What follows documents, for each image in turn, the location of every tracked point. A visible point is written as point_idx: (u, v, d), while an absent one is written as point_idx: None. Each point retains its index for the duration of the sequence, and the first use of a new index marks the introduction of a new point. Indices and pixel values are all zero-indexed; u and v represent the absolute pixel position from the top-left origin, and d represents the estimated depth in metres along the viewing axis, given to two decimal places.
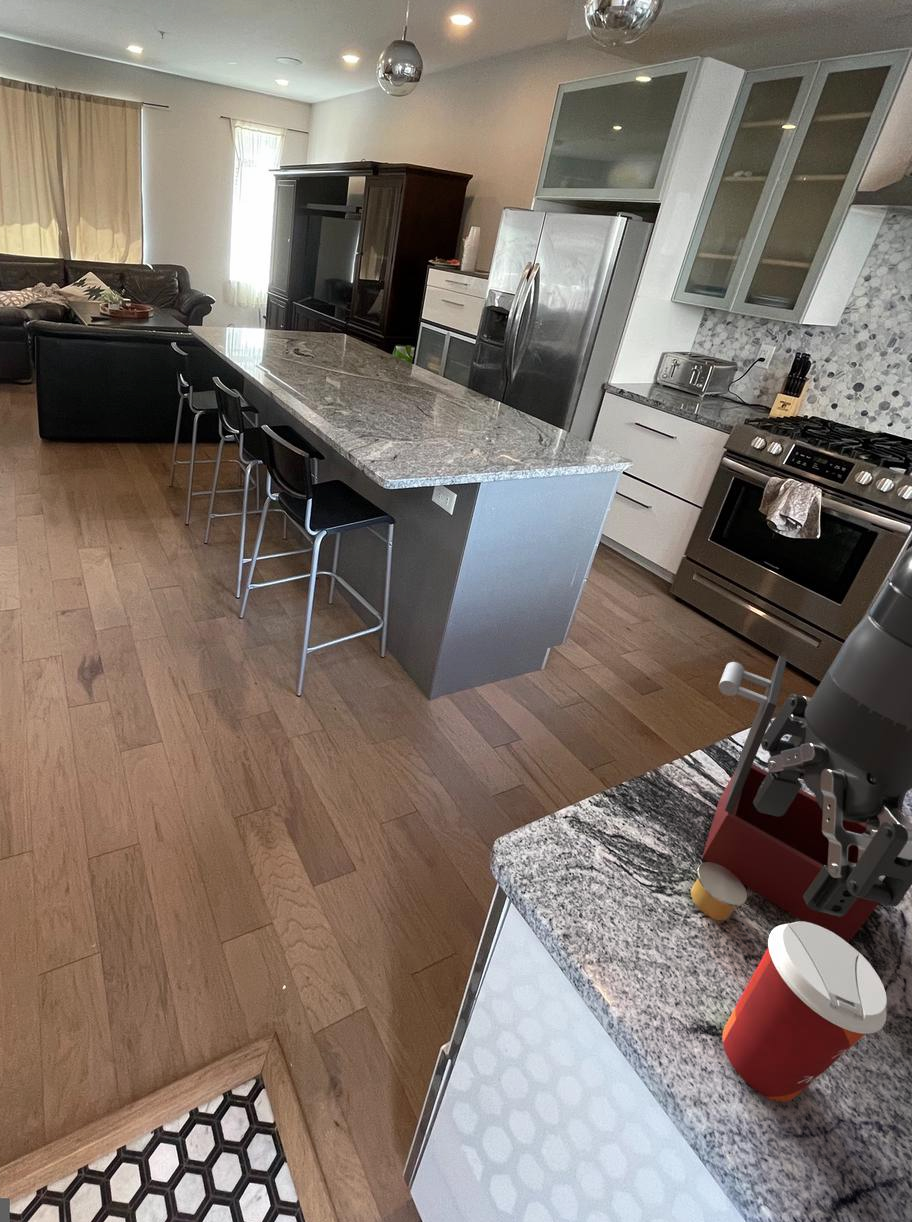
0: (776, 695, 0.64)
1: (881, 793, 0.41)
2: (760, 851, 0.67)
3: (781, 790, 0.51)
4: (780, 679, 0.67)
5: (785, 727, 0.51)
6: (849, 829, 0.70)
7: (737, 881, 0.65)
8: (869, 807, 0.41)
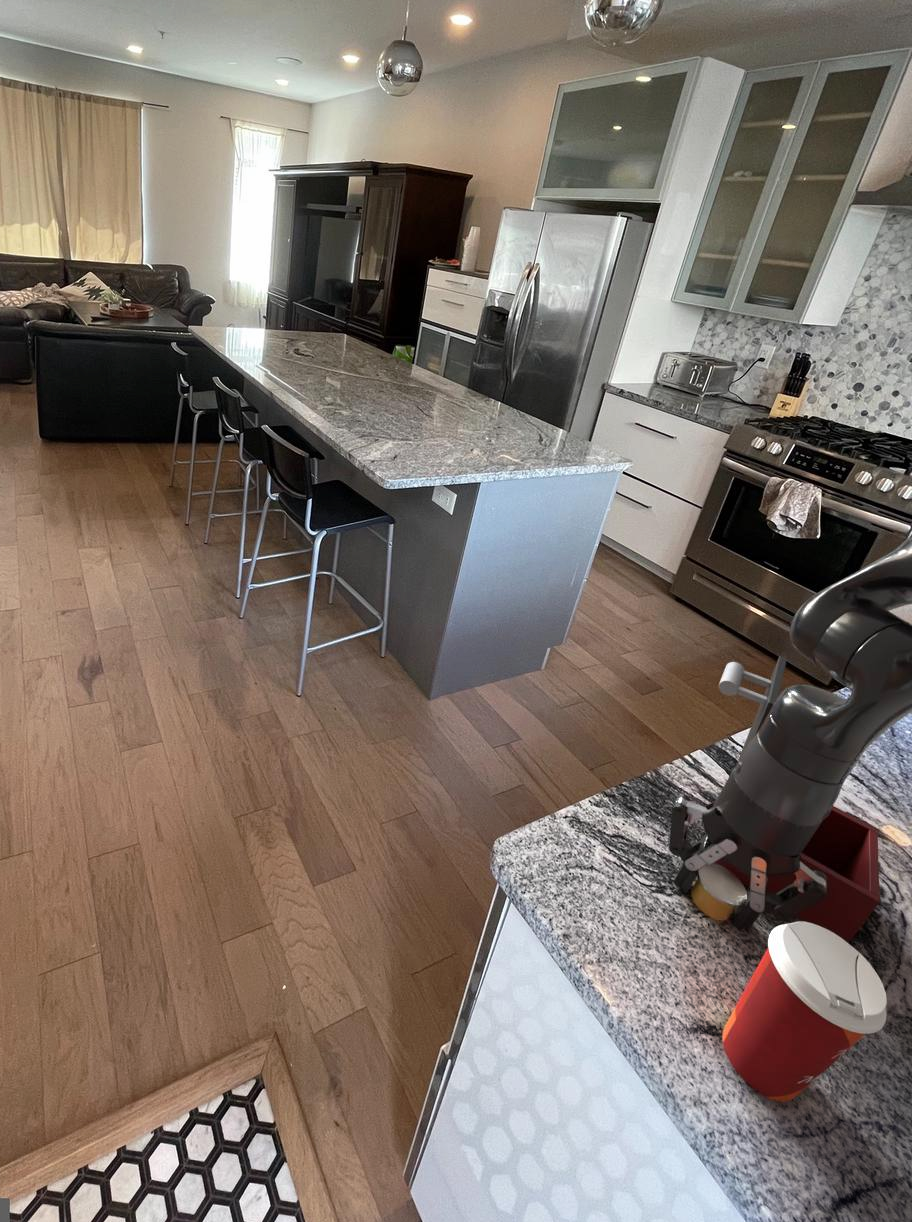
0: (776, 695, 0.64)
1: (798, 858, 0.59)
2: None
3: None
4: (780, 679, 0.67)
5: (683, 831, 0.65)
6: (849, 829, 0.70)
7: (738, 881, 0.65)
8: (795, 870, 0.59)
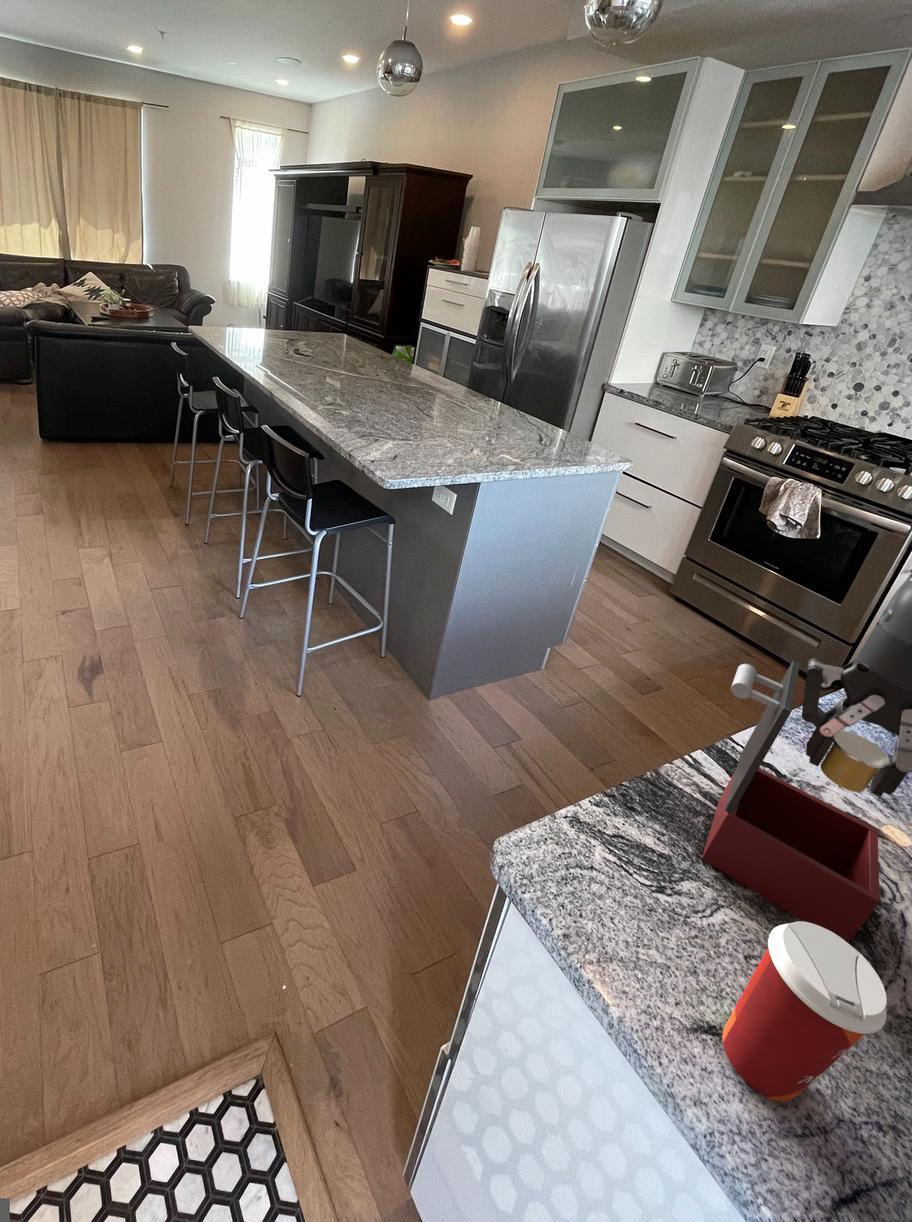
0: (791, 701, 0.63)
1: None
2: (760, 851, 0.67)
3: None
4: (794, 685, 0.66)
5: (819, 695, 0.62)
6: (849, 829, 0.70)
7: (876, 747, 0.62)
8: None
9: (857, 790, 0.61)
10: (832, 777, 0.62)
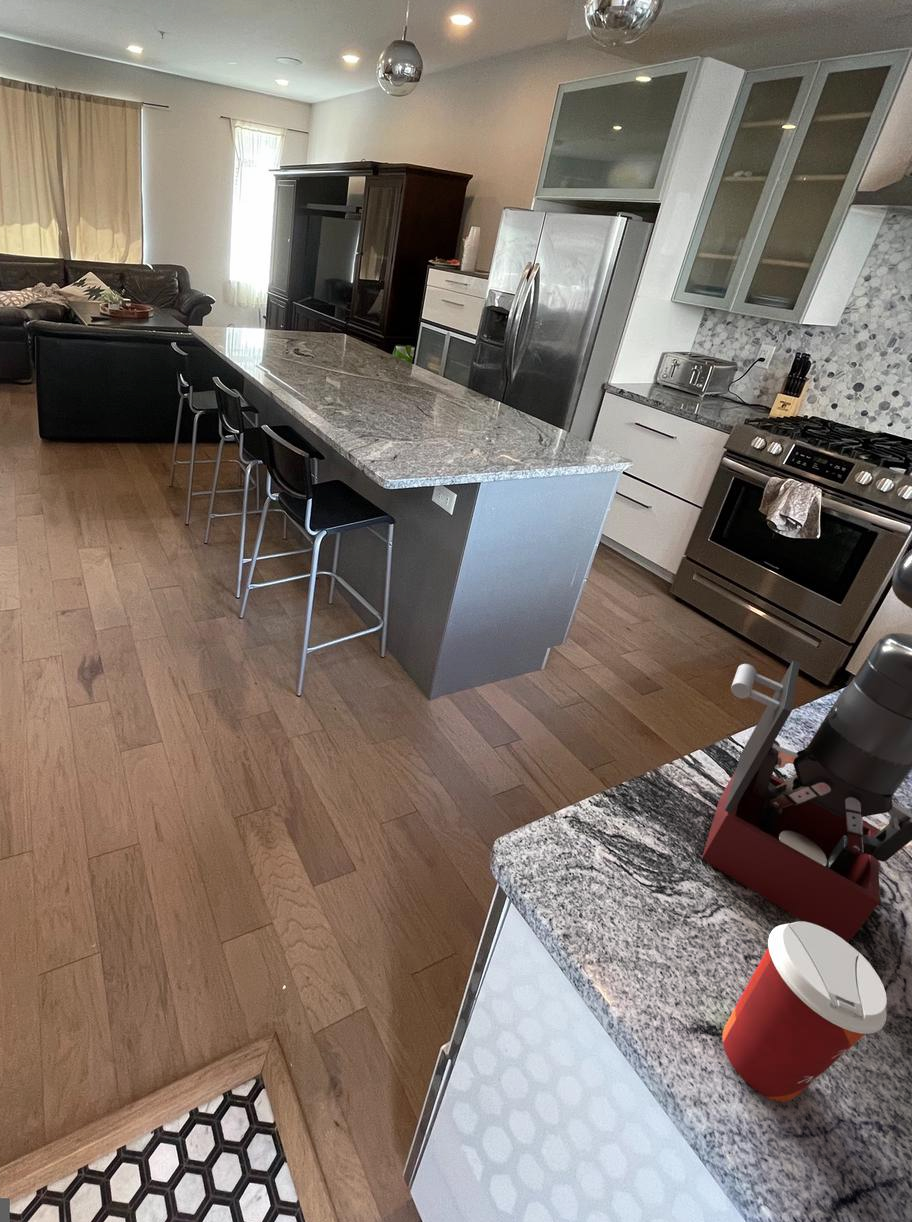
0: (791, 701, 0.63)
1: None
2: (760, 851, 0.67)
3: None
4: (794, 685, 0.66)
5: (772, 773, 0.69)
6: None
7: (816, 847, 0.70)
8: (888, 810, 0.63)
9: None
10: None
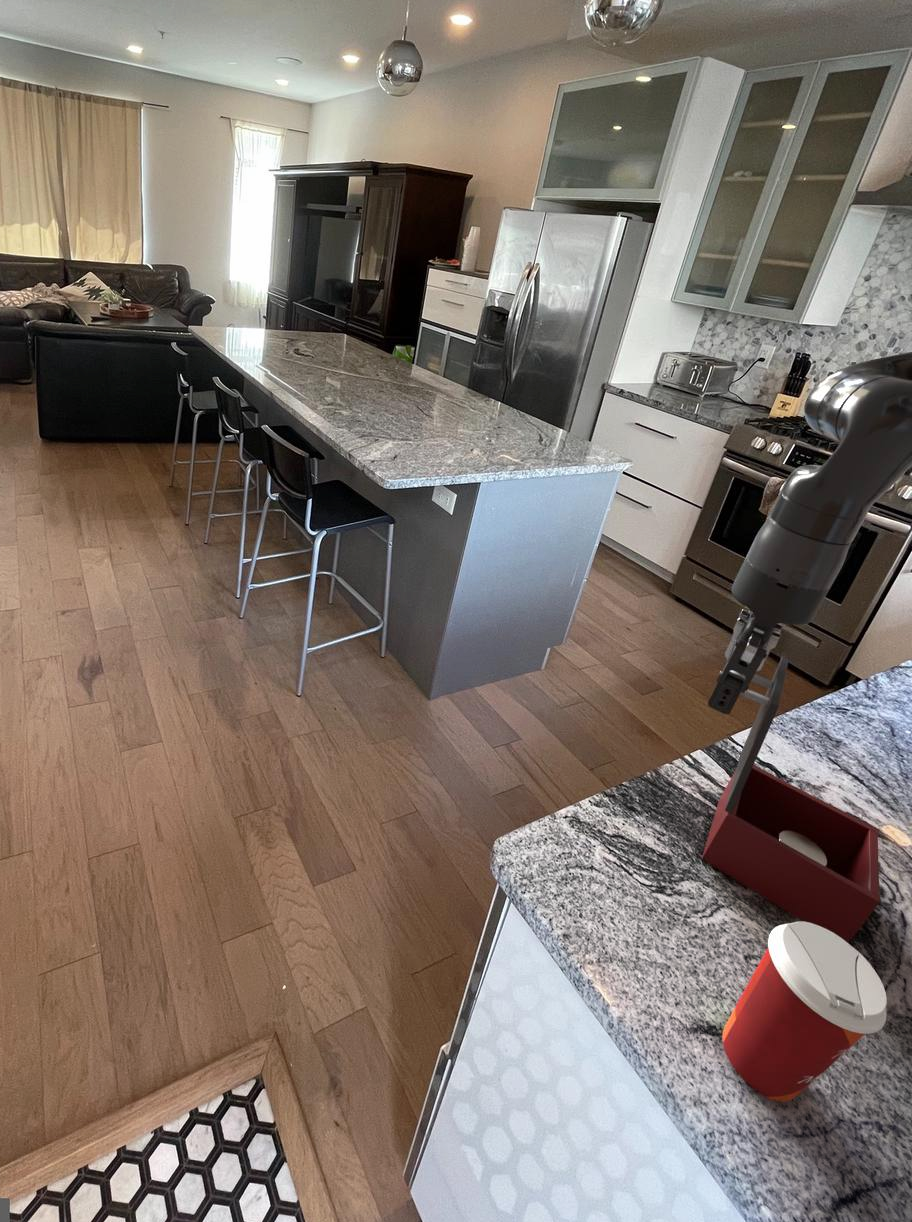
0: (779, 696, 0.64)
1: None
2: (760, 851, 0.67)
3: None
4: (782, 680, 0.67)
5: None
6: (849, 829, 0.70)
7: (816, 847, 0.70)
8: None
9: None
10: None
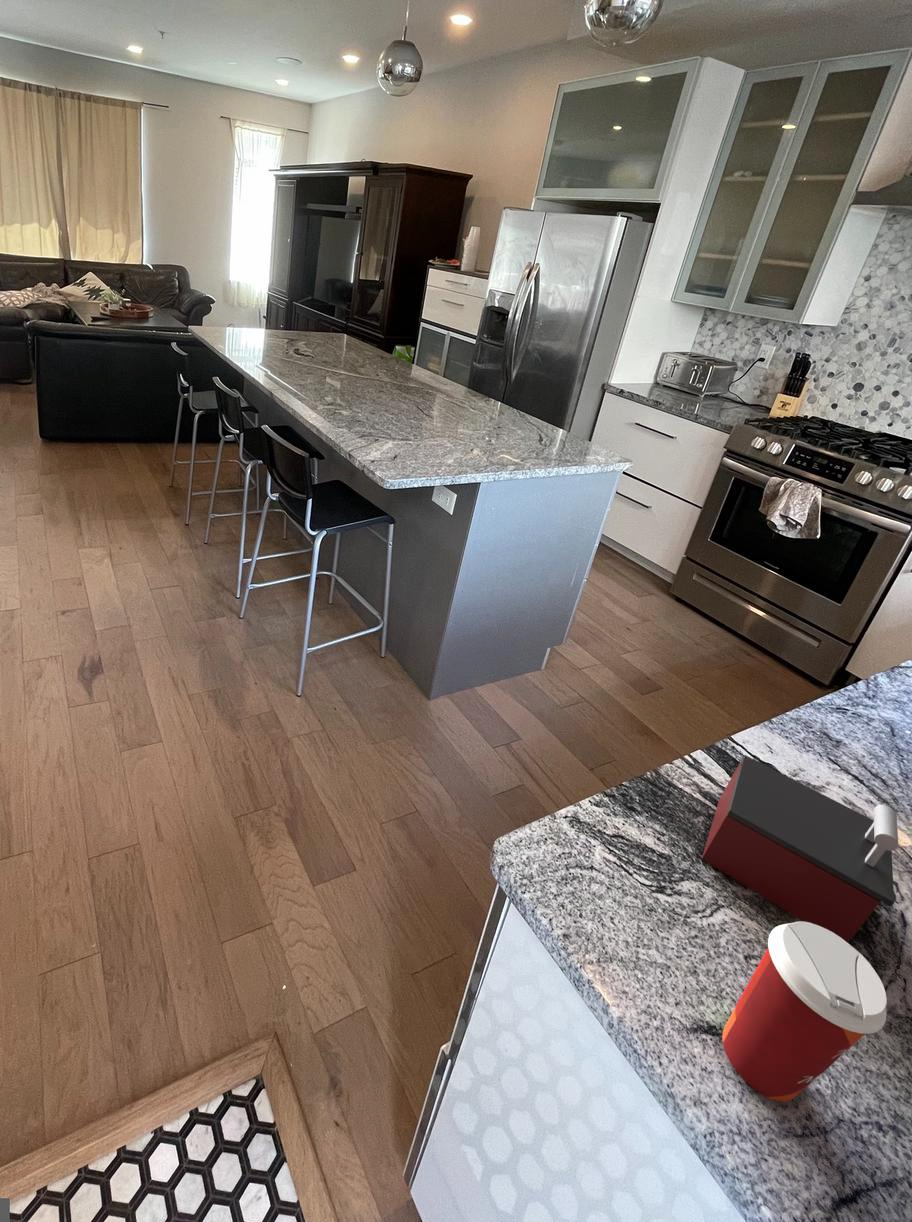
0: None
1: None
2: (760, 851, 0.67)
3: None
4: None
5: None
6: None
7: None
8: None
9: None
10: None
